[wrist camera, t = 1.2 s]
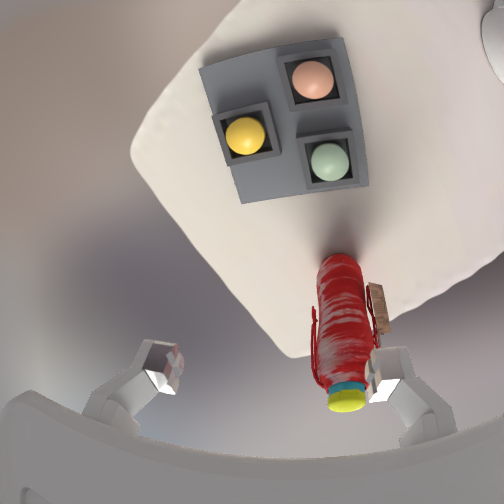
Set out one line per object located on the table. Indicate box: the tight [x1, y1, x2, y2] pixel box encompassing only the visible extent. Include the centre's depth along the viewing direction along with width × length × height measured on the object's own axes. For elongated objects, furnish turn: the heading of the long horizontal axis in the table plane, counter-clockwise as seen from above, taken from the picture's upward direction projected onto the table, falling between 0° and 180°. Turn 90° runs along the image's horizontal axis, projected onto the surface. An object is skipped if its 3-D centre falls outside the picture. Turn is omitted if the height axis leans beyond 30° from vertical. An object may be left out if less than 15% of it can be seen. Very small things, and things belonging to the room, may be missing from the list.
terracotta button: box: [292, 61, 334, 99], centre depth 25 cm, size 4×4×2 cm
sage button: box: [311, 142, 349, 181], centre depth 30 cm, size 4×4×2 cm
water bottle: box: [311, 254, 391, 412], centre depth 35 cm, size 12×8×25 cm, turn 98°
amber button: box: [226, 116, 266, 155], centre depth 30 cm, size 4×4×2 cm
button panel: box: [198, 38, 369, 204], centre depth 30 cm, size 18×20×4 cm
